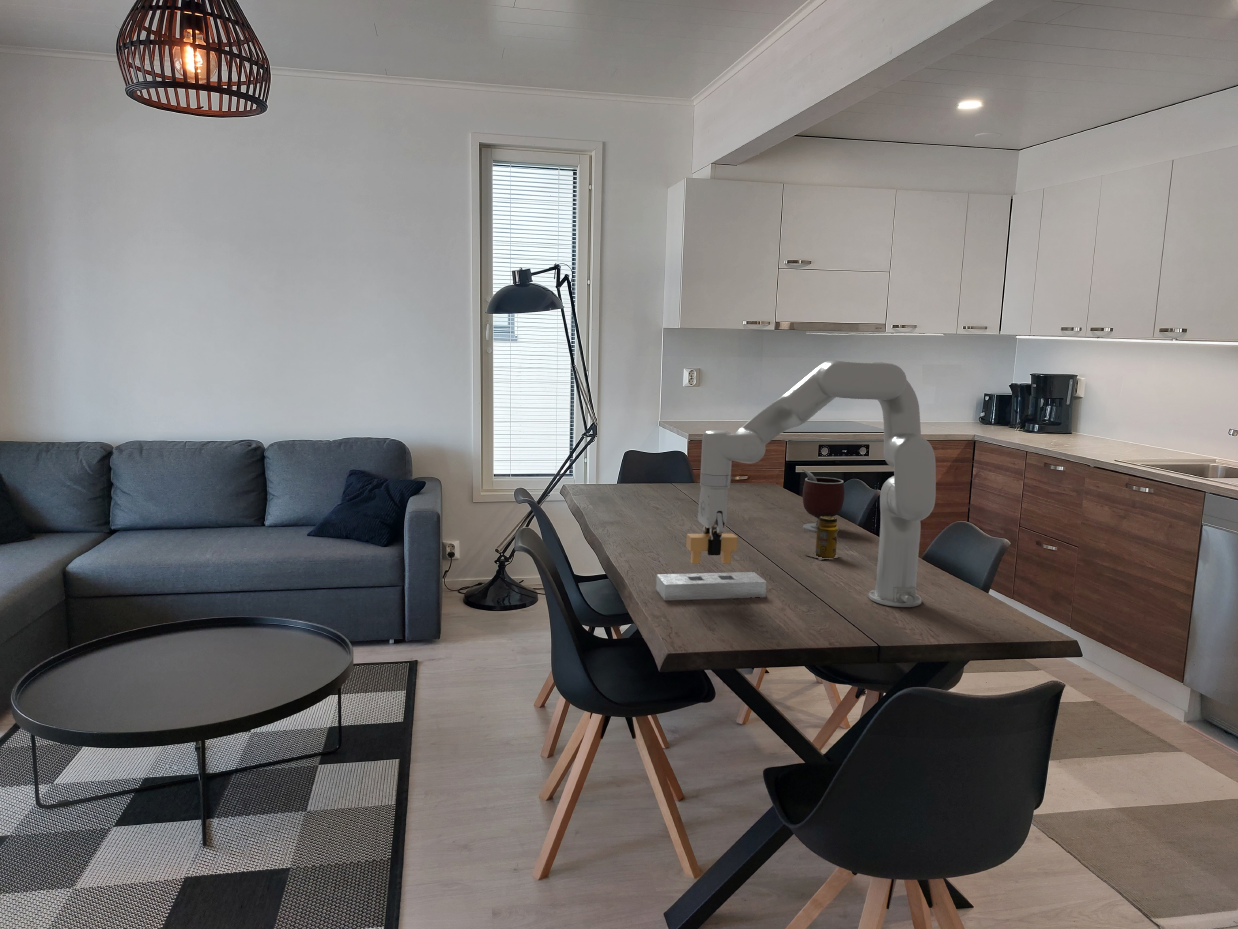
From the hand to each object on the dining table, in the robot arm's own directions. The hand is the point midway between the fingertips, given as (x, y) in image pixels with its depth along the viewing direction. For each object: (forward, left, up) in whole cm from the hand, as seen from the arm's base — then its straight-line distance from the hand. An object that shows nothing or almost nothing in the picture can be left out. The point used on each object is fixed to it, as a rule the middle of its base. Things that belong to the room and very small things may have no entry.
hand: (711, 551), depth 213 cm
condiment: (+33, -45, -11) cm, 57 cm away
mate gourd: (+70, -60, -11) cm, 93 cm away
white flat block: (0, 0, -11) cm, 11 cm away
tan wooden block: (0, 0, -3) cm, 3 cm away
